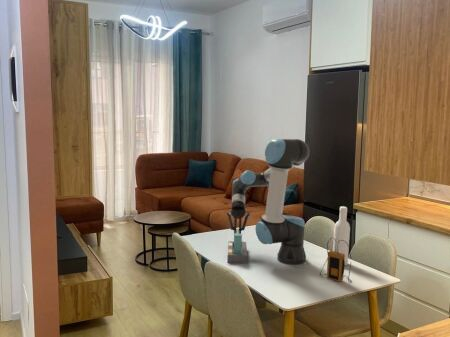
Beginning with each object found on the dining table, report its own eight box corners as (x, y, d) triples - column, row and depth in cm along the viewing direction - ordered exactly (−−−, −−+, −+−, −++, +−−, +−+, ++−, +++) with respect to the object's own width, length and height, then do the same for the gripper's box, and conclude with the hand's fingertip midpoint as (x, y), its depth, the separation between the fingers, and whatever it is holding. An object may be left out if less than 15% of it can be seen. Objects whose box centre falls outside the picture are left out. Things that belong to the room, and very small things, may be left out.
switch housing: (228, 248, 250) (228, 240, 249) (245, 249, 250) (246, 241, 249) (227, 262, 226) (227, 254, 225) (246, 263, 226) (247, 255, 225)
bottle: (338, 266, 226) (341, 209, 222) (328, 261, 233) (332, 205, 229) (350, 265, 229) (354, 208, 225) (341, 260, 236) (345, 205, 232)
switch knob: (233, 253, 235) (233, 233, 233) (241, 253, 234) (242, 233, 233) (233, 256, 230) (233, 235, 228) (241, 256, 230) (242, 235, 228)
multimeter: (357, 279, 209) (360, 238, 207) (347, 284, 202) (350, 242, 199) (329, 271, 219) (331, 231, 216) (319, 276, 212) (321, 235, 209)
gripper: (249, 207, 252) (249, 244, 237) (226, 207, 252) (225, 243, 238) (250, 200, 246) (249, 238, 231) (226, 199, 246) (225, 237, 232)
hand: (237, 241), depth 234 cm, fingers closed
